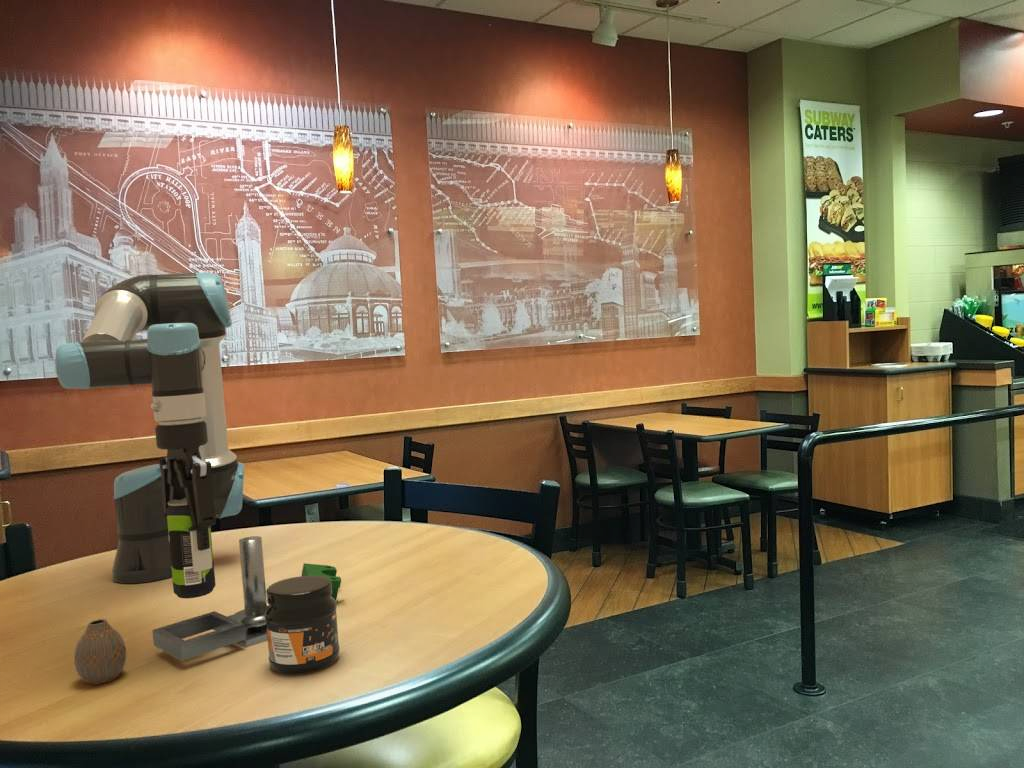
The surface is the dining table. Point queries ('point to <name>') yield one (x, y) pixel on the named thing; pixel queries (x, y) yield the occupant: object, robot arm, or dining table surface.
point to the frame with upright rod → (228, 629)
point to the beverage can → (186, 554)
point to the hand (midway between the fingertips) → (193, 566)
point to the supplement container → (301, 625)
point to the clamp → (323, 575)
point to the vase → (99, 653)
